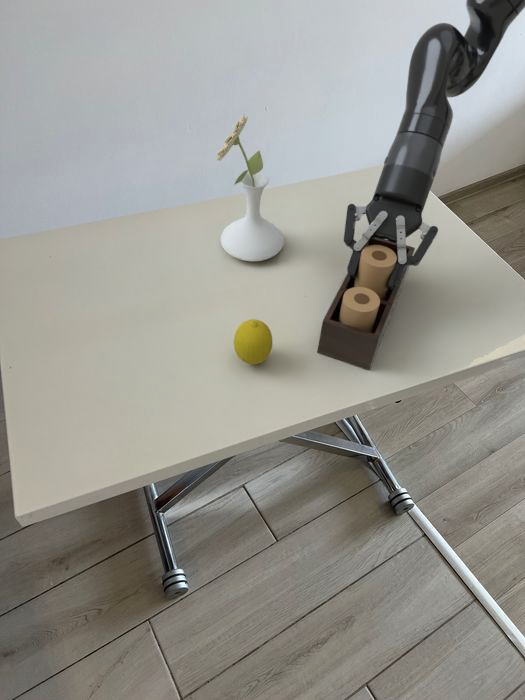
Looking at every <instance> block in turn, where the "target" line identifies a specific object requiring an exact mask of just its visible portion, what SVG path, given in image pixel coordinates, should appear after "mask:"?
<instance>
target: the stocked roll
mask: <svg viewBox="0 0 525 700" xmlns="http://www.w3.org/2000/svg"><path fill="white" fill-rule="evenodd" d="M379 305H380V298H379V296H378V295H377V294H376V293H375V292H374V291H372V290H370V289H368V288H365V287H353V288H350V289H348V290H347V291H346V292H345V293H344V296H343V300H342V305H341V310H340V315H339V320H338V322H340V323H343V324H346V325H349V326H352V327H355V328H358V329H361V330H364V331H367V332H370V333H372V330H373V326H374V323H375V319H376V316H377V312H378V309H379Z"/></svg>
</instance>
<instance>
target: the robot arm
mask: <svg viewBox="0 0 525 700" xmlns="http://www.w3.org/2000/svg"><path fill="white" fill-rule="evenodd" d="M465 7H466V11H467V15H468V18H469V24H468V26H467V29H466V31H465V33H464V35H463V34H462V32H461V31H460V30H459V28H457V27H456V26H455V25H453V24H452V23H447V22H439V23H435V24H433V25H432V26H430V27H429V28H427V30H426V31H425V32H423V34H421V36H420V37H419V39H418V40H417V42H416V44H415V46H414V48H413V51H412V54H411V56H410V62H409V66H408V75H407V83H406V91H405V92H406V93H405V109H404V111H403V113H402V114H403V115H402V117H401V120H400V122H399V126H398V129H397V131H396V135H395V137H394V140H393V142H392V143H391V146H390V147H389V149H388V153H387V155H386V156H385V159H384V162H383V167H382V171H381V173H380V175H379V178H378V182H377V185H376V187H375V190H374V193H373V197H372V199H371V200H370V202H369V203H368V204H367V205H366V206H363V205H355V204H354V203H349V204H348V205H347V207H346V208H347V209H346V215H345V224H344V234H343V243H344V244H345V246H346V247H347V248H349V249H351V250H352V253H351V255H350V258H349V261H348V264H347V267H346V271H347V273H350V275H349V277H350V278H354V279H355V276H356V274H357V270H358V265H359V261H360V257H361V252H362V250H363V249H364V248H365V247H367V246H368V245H369V244H370V243H371V242H372V241H373V239H374V238H375V237H376V238H379V239H386V240H389V241H390V242H393V243H396V242H397V249H398V262H397V264H395V266H394V269H393V272H392V275H391V278H390V280H389V283H388V286H387V289H390V290H392V288H393V286H394V287H397V286H398V285H399V283H400V280H401V277H402V274H403V271H404V269H405V267H407V266H409V267H410V266H411V267H413V266H414V267H416V266H420V263H421V262H422V260H423V258H424V257H425V255H426V254H427V252H428V250H429V248H430V247H431V245H432V244H433V242H434V241H435V239H436V237H437V235H438V232H439V228H438V226H437V225H432V226H431V225H430V224H427V223H426V222H424V221H423V216H422V215H423V212H424V209H425V207H426V202H427V200H428V197H429V193H430V191H431V189H432V185H433V183H434V180H435V177H436V175H437V171H438V169H439V165H440V162H441V157H442V152H443V149H444V147H445V143H446V141H447V137H448V135H449V132H450V129H451V127H452V123H453V118H454V112H453V107H452V105H451V104H450V101H449V100H448V98H456V97H459V96H462V95H463V94H464V93H466V92H467V91H469V90H470V89H471V88H472V87H474V85H475V84H476V83H477V82H478V81H479V80H480V78H481V77H482V75H483V74H484V72H485V71H486V70H487V67H488V65H489V64H490V62H491V60H492V58H493V57H494V55H495V53H496V51H497V49H498V47H500V44H501V42H502V41H503V38H504V36H505V34H506V32H507V30H508V29H509V27H510V25H511V24H512V23H513V22H515V19H517V17H518V16H519V15H520V14H521V13H522V11H523V10H524V9H525V0H466V1H465ZM364 215H365V216H366V219H367V223H368V227H367V228H366V229H365V230H364V231H363V233H362V235H361V236H360V237H359V238H358V239H357V240H356V239H355V230H356V229H355V228H356V223H357V222H359V221H361V219H362V216H364ZM418 230H420V235H419V237H420V239H421V240H422V241H421V242H420V243H419V245H418V248H416V249H415V251H414V254H413V256H406V245H407V242H406V241H407V240H406V239H407V238H408V237H410V236H411V235H412V234H414V233H415V232H416V231H418Z"/></svg>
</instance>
